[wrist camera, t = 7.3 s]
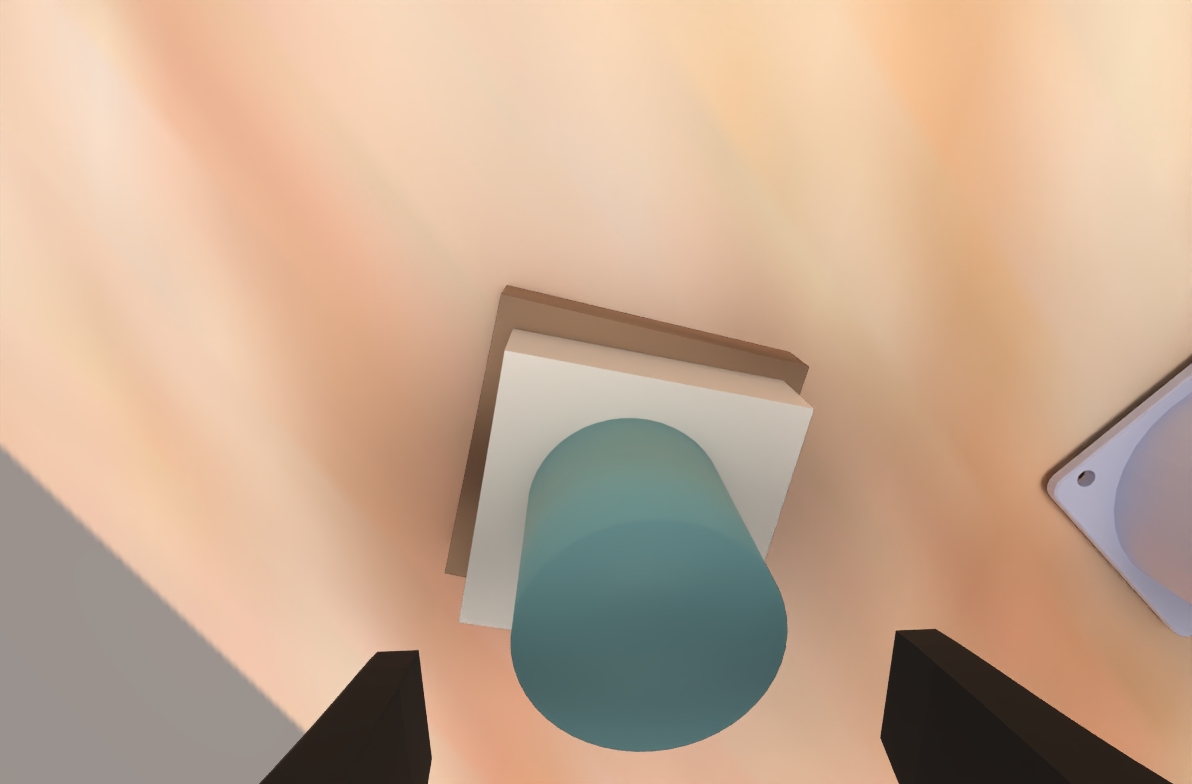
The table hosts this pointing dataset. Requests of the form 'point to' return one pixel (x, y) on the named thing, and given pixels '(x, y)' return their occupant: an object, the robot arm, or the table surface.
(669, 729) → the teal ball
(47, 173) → the table surface
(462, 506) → the walnut slab
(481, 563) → the off-white slab
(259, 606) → the table surface
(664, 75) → the table surface
